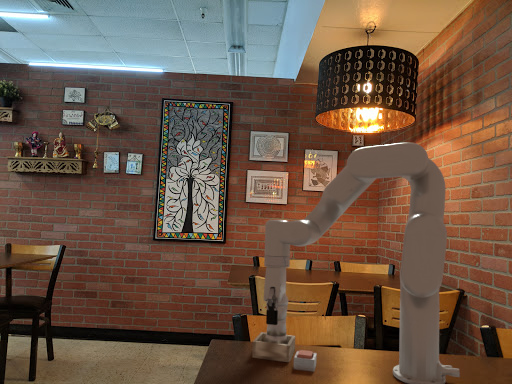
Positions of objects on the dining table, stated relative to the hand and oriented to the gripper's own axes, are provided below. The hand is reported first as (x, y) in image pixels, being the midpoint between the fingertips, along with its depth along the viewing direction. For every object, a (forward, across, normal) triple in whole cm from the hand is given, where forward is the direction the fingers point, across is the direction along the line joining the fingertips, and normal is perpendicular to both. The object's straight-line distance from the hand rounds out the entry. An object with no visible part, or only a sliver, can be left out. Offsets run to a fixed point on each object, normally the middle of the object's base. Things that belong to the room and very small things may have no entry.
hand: (275, 320), depth 118 cm
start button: (+9, +7, +10) cm, 15 cm away
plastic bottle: (+9, -1, 0) cm, 9 cm away
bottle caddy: (+10, 0, 0) cm, 10 cm away
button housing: (+10, +6, +10) cm, 15 cm away
